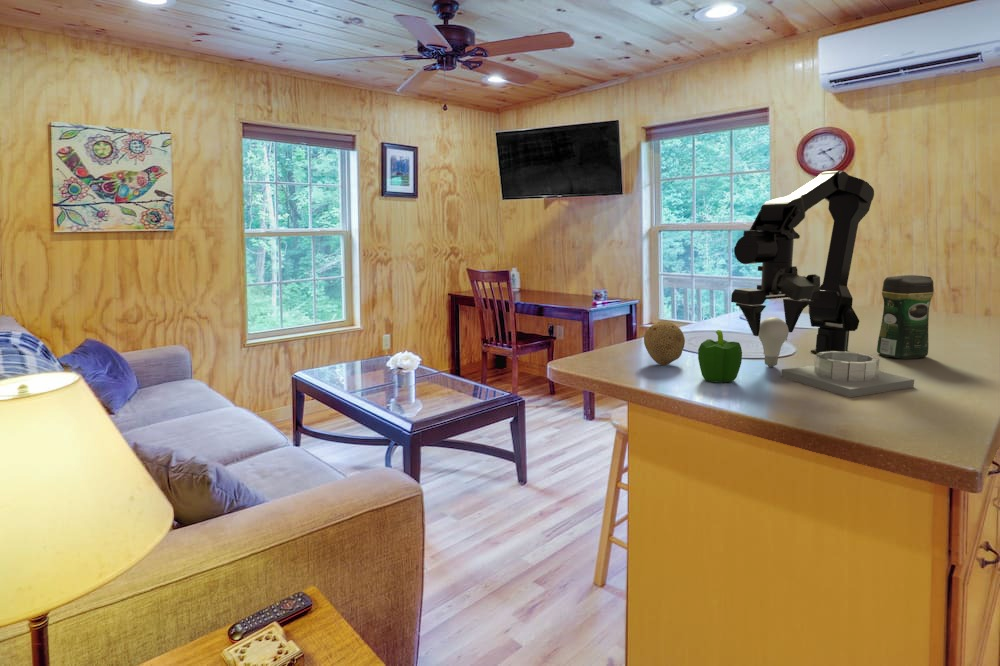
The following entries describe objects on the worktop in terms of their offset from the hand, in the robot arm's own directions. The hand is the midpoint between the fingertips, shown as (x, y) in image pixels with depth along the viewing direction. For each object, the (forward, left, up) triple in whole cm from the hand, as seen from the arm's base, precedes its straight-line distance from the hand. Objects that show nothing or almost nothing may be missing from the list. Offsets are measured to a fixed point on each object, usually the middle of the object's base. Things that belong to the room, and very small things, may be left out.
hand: (773, 334), depth 128 cm
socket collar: (-4, +15, -6) cm, 17 cm away
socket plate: (-4, +15, -7) cm, 17 cm away
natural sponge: (+19, -12, -8) cm, 24 cm away
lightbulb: (0, 0, -8) cm, 8 cm away
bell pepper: (+17, +4, -8) cm, 19 cm away
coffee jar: (-34, +4, -8) cm, 35 cm away
